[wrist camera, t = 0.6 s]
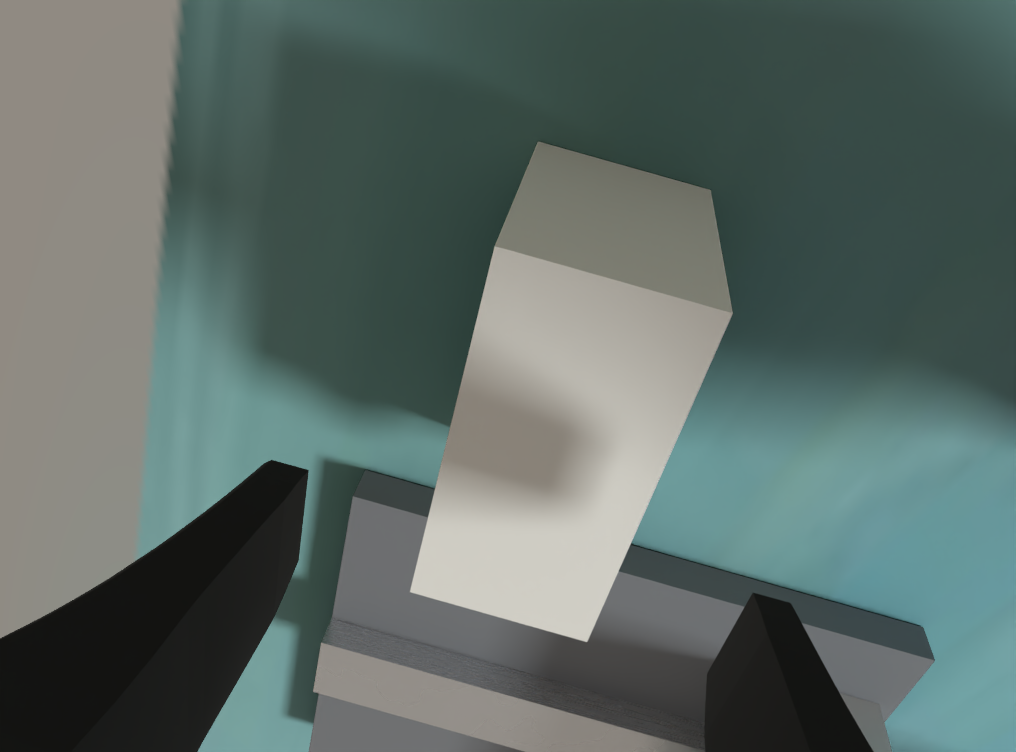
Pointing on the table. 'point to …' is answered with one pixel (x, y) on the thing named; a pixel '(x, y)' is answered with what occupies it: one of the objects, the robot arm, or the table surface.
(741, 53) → the table surface
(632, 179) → the block
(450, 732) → the rail board
